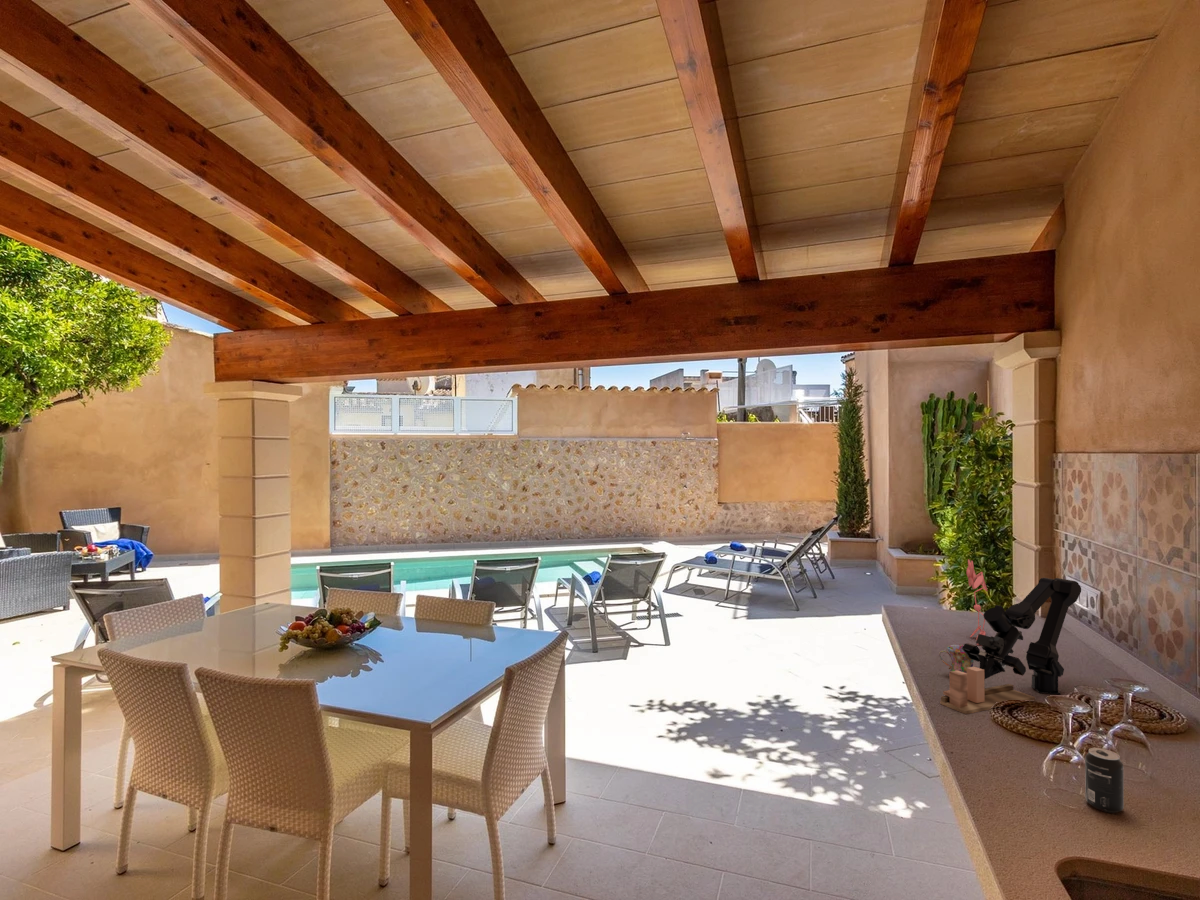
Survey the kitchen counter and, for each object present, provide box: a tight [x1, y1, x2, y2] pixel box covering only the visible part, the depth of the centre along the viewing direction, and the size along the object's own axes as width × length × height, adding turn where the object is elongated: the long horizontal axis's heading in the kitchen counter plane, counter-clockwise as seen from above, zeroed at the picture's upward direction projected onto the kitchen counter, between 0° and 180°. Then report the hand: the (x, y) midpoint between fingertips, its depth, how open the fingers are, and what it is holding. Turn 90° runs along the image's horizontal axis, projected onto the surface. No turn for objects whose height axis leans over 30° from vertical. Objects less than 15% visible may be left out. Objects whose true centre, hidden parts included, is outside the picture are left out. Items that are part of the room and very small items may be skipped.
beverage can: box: [1084, 747, 1125, 814], centre depth 146 cm, size 7×7×12 cm
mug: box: [938, 644, 974, 677], centre depth 232 cm, size 12×9×11 cm
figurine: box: [965, 558, 988, 646], centre depth 280 cm, size 15×26×35 cm, turn 158°
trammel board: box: [939, 670, 1036, 715], centre depth 209 cm, size 32×9×11 cm, turn 112°
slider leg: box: [967, 666, 985, 703], centre depth 209 cm, size 4×6×10 cm, turn 22°
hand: (979, 679), depth 208 cm, fingers closed
